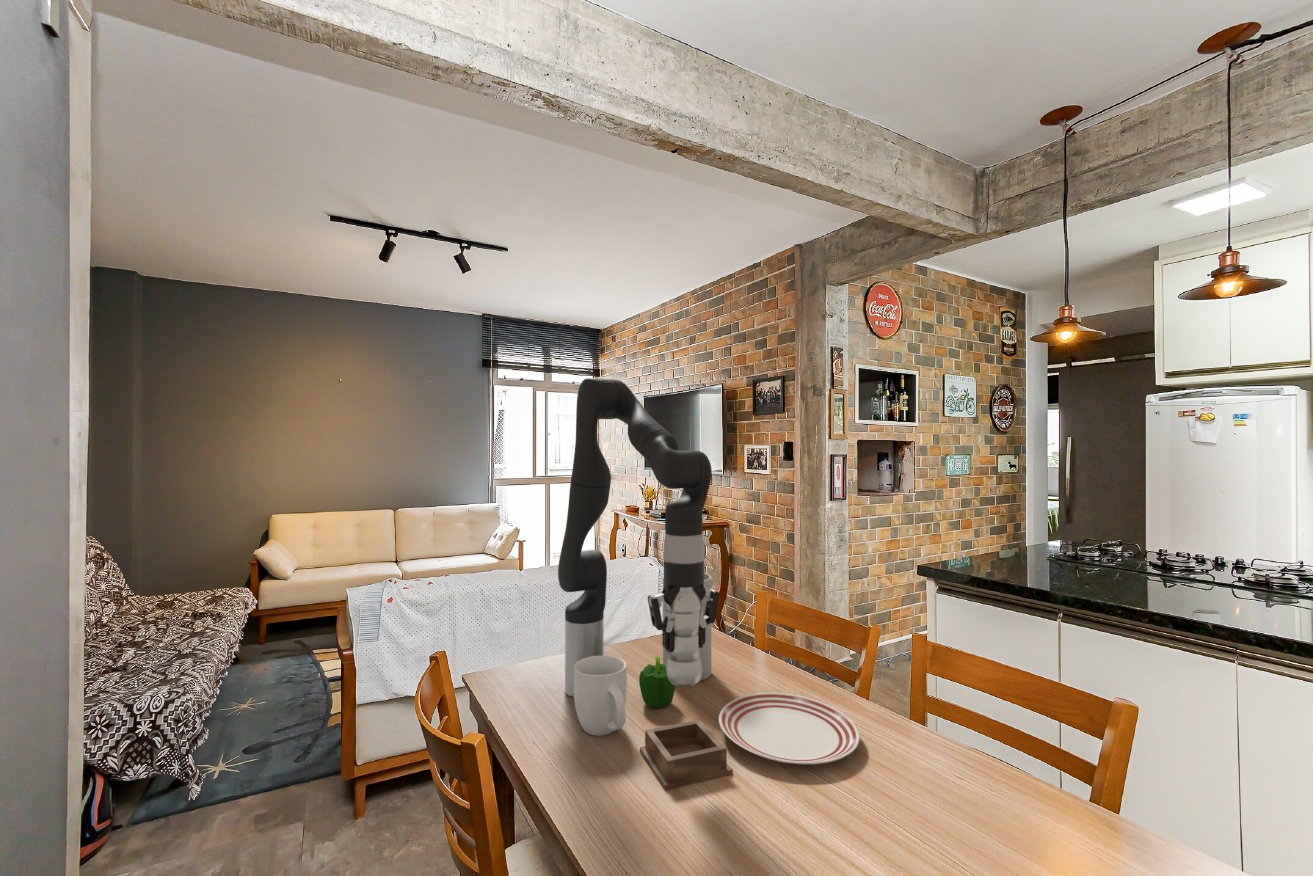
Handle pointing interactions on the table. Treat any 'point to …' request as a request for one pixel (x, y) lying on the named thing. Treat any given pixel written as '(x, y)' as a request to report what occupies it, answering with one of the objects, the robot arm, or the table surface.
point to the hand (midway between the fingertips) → (683, 648)
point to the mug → (600, 693)
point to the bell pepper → (656, 685)
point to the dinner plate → (789, 728)
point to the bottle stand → (684, 754)
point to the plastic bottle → (685, 639)
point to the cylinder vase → (706, 650)
